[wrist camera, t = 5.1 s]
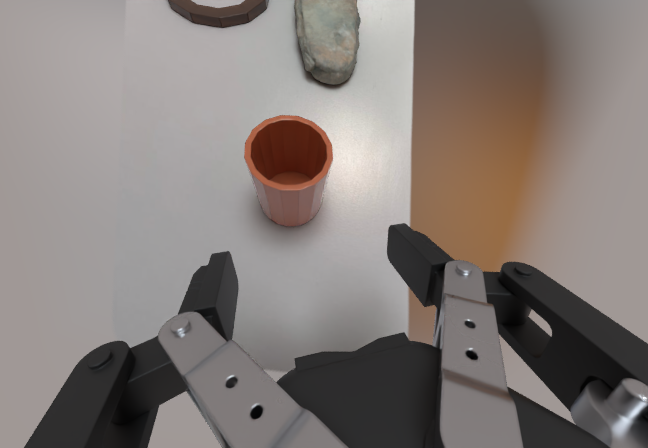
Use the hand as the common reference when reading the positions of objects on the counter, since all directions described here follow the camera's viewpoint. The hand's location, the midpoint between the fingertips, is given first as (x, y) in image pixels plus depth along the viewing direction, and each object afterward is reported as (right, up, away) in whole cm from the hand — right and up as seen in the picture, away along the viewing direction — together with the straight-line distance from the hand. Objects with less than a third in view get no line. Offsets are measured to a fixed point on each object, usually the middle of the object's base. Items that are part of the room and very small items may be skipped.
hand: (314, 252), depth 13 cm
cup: (-3, +4, +14) cm, 15 cm away
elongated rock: (0, +35, +25) cm, 43 cm away
